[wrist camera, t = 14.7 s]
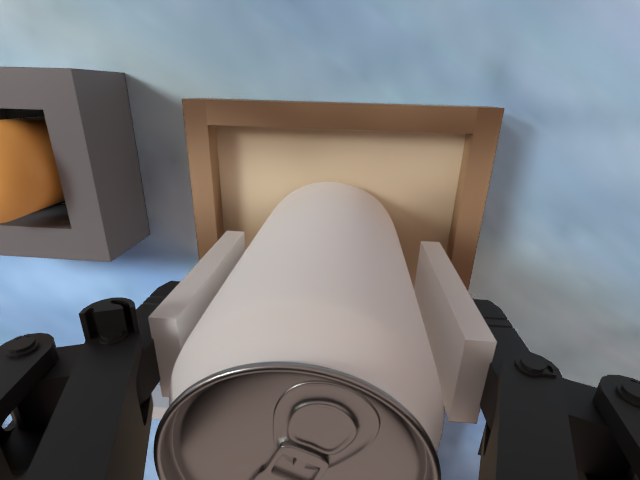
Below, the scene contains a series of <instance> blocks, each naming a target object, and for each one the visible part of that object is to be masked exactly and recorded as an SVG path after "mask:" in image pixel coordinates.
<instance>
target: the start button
mask: <svg viewBox="0 0 640 480" xmlns="http://www.w3.org/2000/svg"><path fill="white" fill-rule="evenodd" d="M63 201H65V199H64V195H63V190H62V186H61V182H60V178H59V174H58V170H57V166H56V161H55V157H54V153H53V149H52V145H51V141H50V137H49V132H48V128H47V124H46V120H45V116H44V117H29V118H17V119H4V120H0V223H6V222H9V221H12V220H15V219H17V218H20V217H23V216H25V215H28V214H31V213H33V212H36V211H39V210H41V209H44V208H47V207H49V206H52V205H55V204H57V203H60V202H63Z"/></svg>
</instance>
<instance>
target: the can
mask: <svg viewBox="0 0 640 480" xmlns="http://www.w3.org/2000/svg"><path fill="white" fill-rule="evenodd" d="M443 423H444V404H443V397H442V390H441V385H440V381H439V377H438V373H437V369H436V365H435V362H434V358H433V354H432V351H431V347H430V344H429V340H428V337H427V333H426V330H425V326H424V323H423V319H422V316H421V312H420V309H419V306H418V302H417V299H416V295H415V292H414V289H413V285H412V282H411V278H410V275H409V272H408V268H407V265H406V262H405V258H404V255H403V252H402V248H401V245H400V242H399V238H398V235H397V232H396V229H395V227H394V224H393V222H392V220H391V218H390V216H389V214H388V212H387V211H386V210H385V208H384V207H383V206H382V204H381V203H380V202H379V201H378V200H377V199H376V198H375V197H374V196H372V195H371V194H369V193H368V192H366V191H364V190H362V189H360V188H357V187H354V186H351V185H348V184H343V183H338V182H318V183H313V184H309V185H306V186H303V187H301V188H299V189H297V190H295V191H293V192H292V193H290V194H289V195H288V196H286V197H285V198H284V199H283V200H282V201H281V202H280V203H279V204H278V205H277V206H276V208H275V209H274V210H273V212H272V213H271V214H270V216H269V217H268V219H267V220H266V221H265V223H264V224H263V226H262V227H261V229H260V230H259V232H258V233H257V235H256V236H255V238H254V239H253V240H252V242H251V243H250V245H249V246H248V248H247V249H246V251H245V252H244V254H243V255H242V257H241V258H240V260H239V261H238V263H237V264H236V266H235V267H234V269H233V270H232V272H231V273H230V275H229V276H228V278H227V279H226V281H225V282H224V284H223V285H222V287H221V288H220V290H219V291H218V293H217V294H216V296H215V297H214V299H213V300H212V302H211V303H210V305H209V306H208V308H207V309H206V311H205V312H204V314H203V315H202V317H201V318H200V320H199V321H198V323H197V325H196V326H195V328H194V329H193V331H192V332H191V334H190V336H189V337H188V339H187V341H186V342H185V344H184V346H183V348H182V350H181V352H180V354H179V356H178V358H177V360H176V363H175V365H174V368H173V372H172V376H171V382H170V389H169V407H168V409H167V410H166V412H165V413H164V415H163V417H162V419H161V421H160V423H159V425H158V428H157V431H156V435H155V440H154V462H155V467H156V471H157V475H158V477H159V480H441V470H440V464H439V460H438V456H437V450H438V447H439V444H440V440H441V436H442V430H443Z"/></svg>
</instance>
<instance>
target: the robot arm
mask: <svg viewBox="0 0 640 480" xmlns="http://www.w3.org/2000/svg"><path fill="white" fill-rule="evenodd" d="M244 252H245V235H244V232H242V231H226V232H225V233H224V234H223V236H222V237H221V238H220V239H219V240H218V241H217V242H216V243H215V244H214V245H213V247H212V248H211V249H210V250H209V251H208V252H207V253H206V254H205V255H204V256H203V258H202V259H201V260H200V261H199V262H198V263H197V264H196V265H195V266H194V267H193V269H192V270H191V271H190V272H189V273H188V274H187V275H186V276H185V277H184V278H183V279H182V281H181V282H178V281H170V282H168V283H166V284H164V285H162V286H160V287H158V288H157V289H156V290H155V291H154V292H153V293H152V294H151V295H150V297H148V298H147V299H146V300H145V301H144V302H143V304H141V305H140V306H139V307H138V308H137V309H135V303H134V302H133V301H132V300H130V299H127V298H109V299H104V300H101V301H98V302H95V303H92V304H91V305H89V306H87V307H86V308H84V309H83V310H82V311H81V312H80V313H79V317H80V321H81V325H82V328H83V332H84V336H85V340H86V341H85V343H84V344H80V345H72V346H65V347H57V348H56V345H55V341H54V338H53V337H52V336H51V335H49V334H44V333H35V334H27V335H24V336H19V337H16V338H15V339H13V340H10V341H8V342H6V343H4V344H3V345H1V346H0V480H143V477H144V470H145V463H146V456H147V448H148V441H149V434H150V427H151V420H152V413H153V406H154V405H153V399H152V392H153V390H154V389H155V387H156V386H157V384H158V383H159V382H160V388H161V393H162V397H169V389H170V382H171V376H172V372H173V368H174V365H175V363H176V360H177V358H178V356H179V354H180V352H181V350H182V348H183V346H184V344H185V342H186V341H187V339H188V337H189V336H190V334H191V332H192V331H193V329H194V328H195V326H196V325H197V323H198V321H199V320H200V318H201V317H202V315H203V314H204V312H205V311H206V309H207V308H208V306H209V305H210V303H211V302H212V300H213V299H214V297H215V296H216V294H217V293H218V291H219V290H220V288H221V287H222V285H223V284H224V282H225V281H226V279H227V278H228V276H229V275H230V273H231V272H232V270H233V269H234V267H235V266H236V264H237V263H238V261H239V260H240V258H241V257H242V255H243V254H244ZM414 292H415V295H416V299H417V302H418V306H419V309H420V312H421V316H422V319H423V323H424V326H425V330H426V333H427V337H428V340H429V344H430V347H431V351H432V354H433V358H434V362H435V365H436V369H437V373H438V377H439V381H440V385H441V390H442V397H443V404H444V407H445V411H446V414H447V418H448V421H451V422H462V423H474V424H477V421H478V416H479V412H480V408H481V409H482V412H483V414H484V417H485V419H486V425H485V429H484V433H483V436H482V440H481V444H480V448H479V452H478V455H481V460H480V470H479V479H478V480H640V381H638V380H635V379H633V378H629V377H625V376H621V375H607V376H604V377H602V378H601V380H600V383H599V385H598V388H595V387H592V386H588V385H585V384H581V383H577V382H574V381H570V380H567V379H565V378H562V375H561V373H560V371H559V369H558V368H557V367H556V366H555V365H554V364H553V363H552V362H550V361H548V360H547V359H545V358H543V357H542V356H539V355H537V354H534V353H531V352H530V351H529V350H528V348H527V347H526V345H525V344H524V342H523V341H522V340H521V338H520V337H519V335H518V334H517V332H516V331H515V329H514V328H512V327H513V326H512V325H511V323H510V322H509V320H507V317H506V316H505V315H504V313H503V312H502V310H501V309H500V308H499V307H497V306H496V305H495V304H493V303H492V302H491V301H489V300H478V299H472V298H471V296H470V294H469V292H468V291H467V289H466V287H465V286H464V284H463V282H462V280H461V279H460V277H459V275H458V273H457V272H456V270H455V268H454V266H453V265H452V263H451V261H450V259H449V258H448V256H447V254H446V253H445V251H444V249H443V247H442V246H441V244H440V242H429V241H421V243H420V251H419V258H418V265H417V273H416V280H415V287H414ZM9 414H11V416H12V419H13V420H12V421H11V423H10V424H9V425H8V426H7V427H6V428H5V429H3V428H2V424H3V422H4V421H5V419H6V418H7V417H8V415H9Z"/></svg>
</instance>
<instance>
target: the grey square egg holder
mask: <svg viewBox="0 0 640 480" xmlns="http://www.w3.org/2000/svg"><path fill="white" fill-rule="evenodd" d="M4 108H6V109H37V110H43V112H44V116H45V120H46V124H47V128H48V132H49V137H50V141H51V145H52V149H53V153H54V157H55V161H56V166H57V170H58V174H59V178H60V182H61V186H62V190H63V195H64V199H65V203H66V204H55V205H52V206H49V207H47V208H44V209H41V210H39V211H36V212H33V213H31V214H28V215H25V216H23V217H20V218H17V219H15V220H12V221H9V222H6V223H0V255H4V256H21V257H37V258H54V259H70V260H87V261H103V262H111V261H113V260H114V259H116V258H117V257H119V256H120V255H121V254H123V253H124V252H126V251H127V250H129V249H130V248H131V247H133V246H134V245H136V244H137V243H139V242H140V241H141V240H143V239H144V238H146V237H147V236H149V235H150V232H149V225H148V219H147V213H146V206H145V200H144V194H143V188H142V181H141V175H140V169H139V162H138V156H137V150H136V143H135V137H134V131H133V124H132V118H131V112H130V105H129V99H128V93H127V86H126V80H125V74H124V73H119V72H107V71H95V70H84V69H72V68H32V67H0V120H4V119H6V116H5V112H4Z"/></svg>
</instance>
